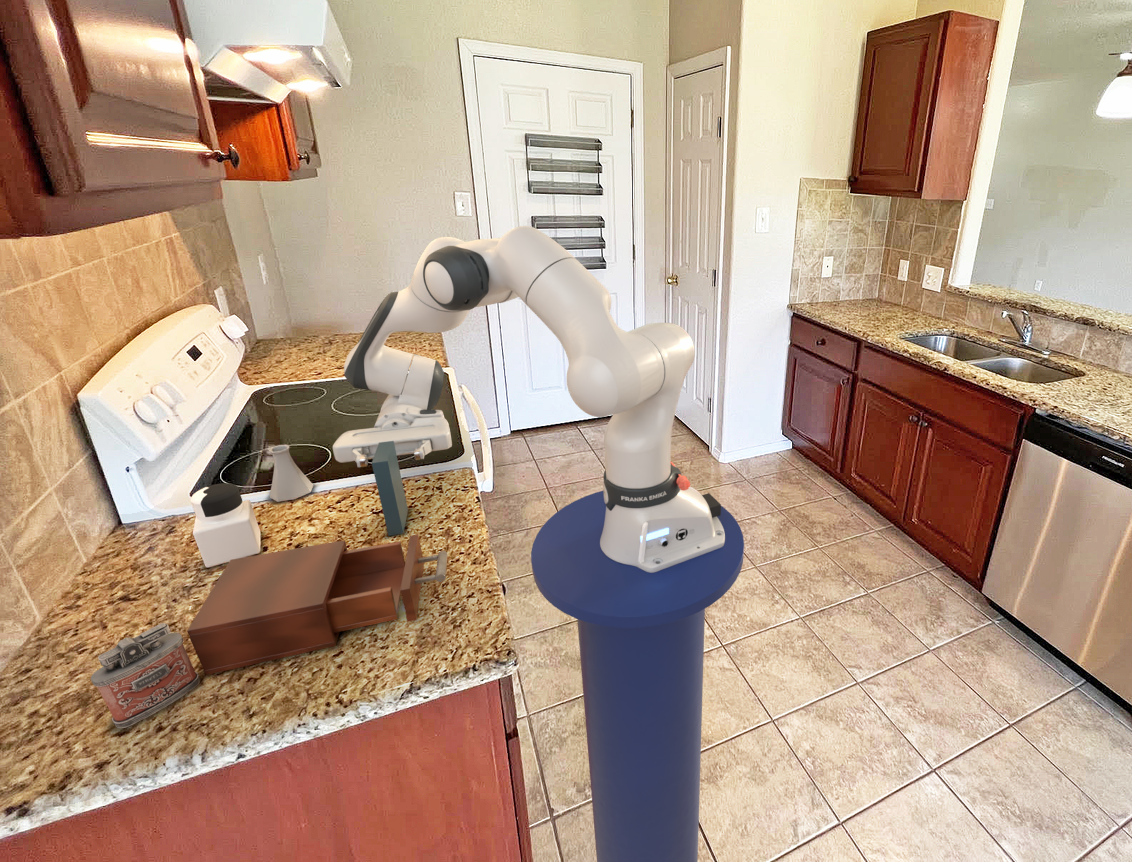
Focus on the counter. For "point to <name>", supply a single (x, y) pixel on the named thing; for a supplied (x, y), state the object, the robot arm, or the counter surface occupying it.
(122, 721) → the lighter
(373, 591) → the drawer
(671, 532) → the robot arm
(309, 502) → the counter surface
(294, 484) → the flask
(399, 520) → the dark teal rectangular block
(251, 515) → the medicine bottle
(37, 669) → the counter surface
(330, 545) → the cabinet
